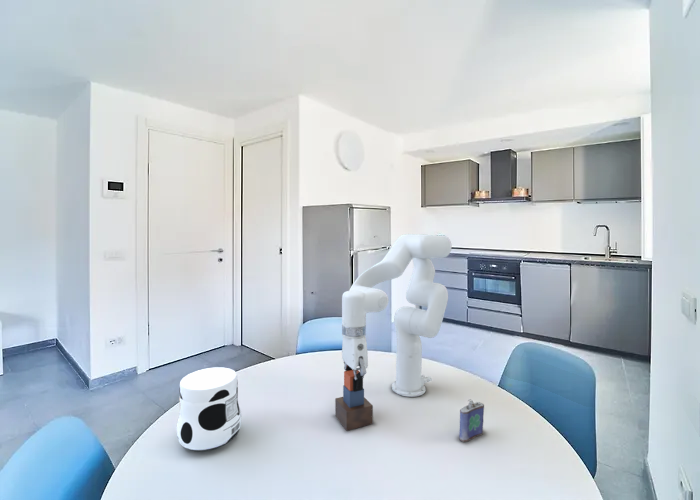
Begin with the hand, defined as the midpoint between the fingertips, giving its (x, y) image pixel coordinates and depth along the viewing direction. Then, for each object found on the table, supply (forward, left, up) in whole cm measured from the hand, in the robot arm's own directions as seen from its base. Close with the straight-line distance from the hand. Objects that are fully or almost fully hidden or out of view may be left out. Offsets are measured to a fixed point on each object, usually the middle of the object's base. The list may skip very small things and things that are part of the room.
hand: (353, 385), depth 108 cm
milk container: (+42, -9, -11) cm, 44 cm away
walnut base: (0, 0, -11) cm, 11 cm away
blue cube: (0, 0, -5) cm, 5 cm away
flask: (-28, +22, -11) cm, 37 cm away
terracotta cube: (0, 0, 0) cm, 0 cm away
